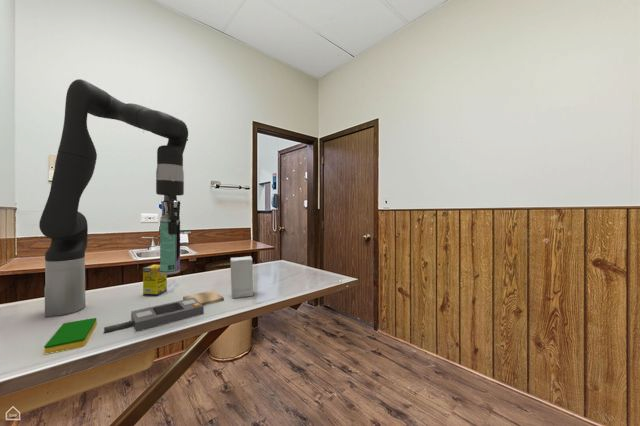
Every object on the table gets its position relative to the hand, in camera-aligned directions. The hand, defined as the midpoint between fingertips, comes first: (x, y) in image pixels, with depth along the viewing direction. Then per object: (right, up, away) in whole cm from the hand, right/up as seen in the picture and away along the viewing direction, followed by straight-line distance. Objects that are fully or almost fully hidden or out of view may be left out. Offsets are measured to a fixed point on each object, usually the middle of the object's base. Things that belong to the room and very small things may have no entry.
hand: (170, 233), depth 80 cm
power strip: (-3, -26, -2) cm, 27 cm away
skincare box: (+17, -26, +20) cm, 37 cm away
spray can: (0, -13, 0) cm, 13 cm away
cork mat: (+4, -26, +14) cm, 30 cm away
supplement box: (-18, -26, +21) cm, 38 cm away
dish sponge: (-18, -27, -13) cm, 35 cm away
